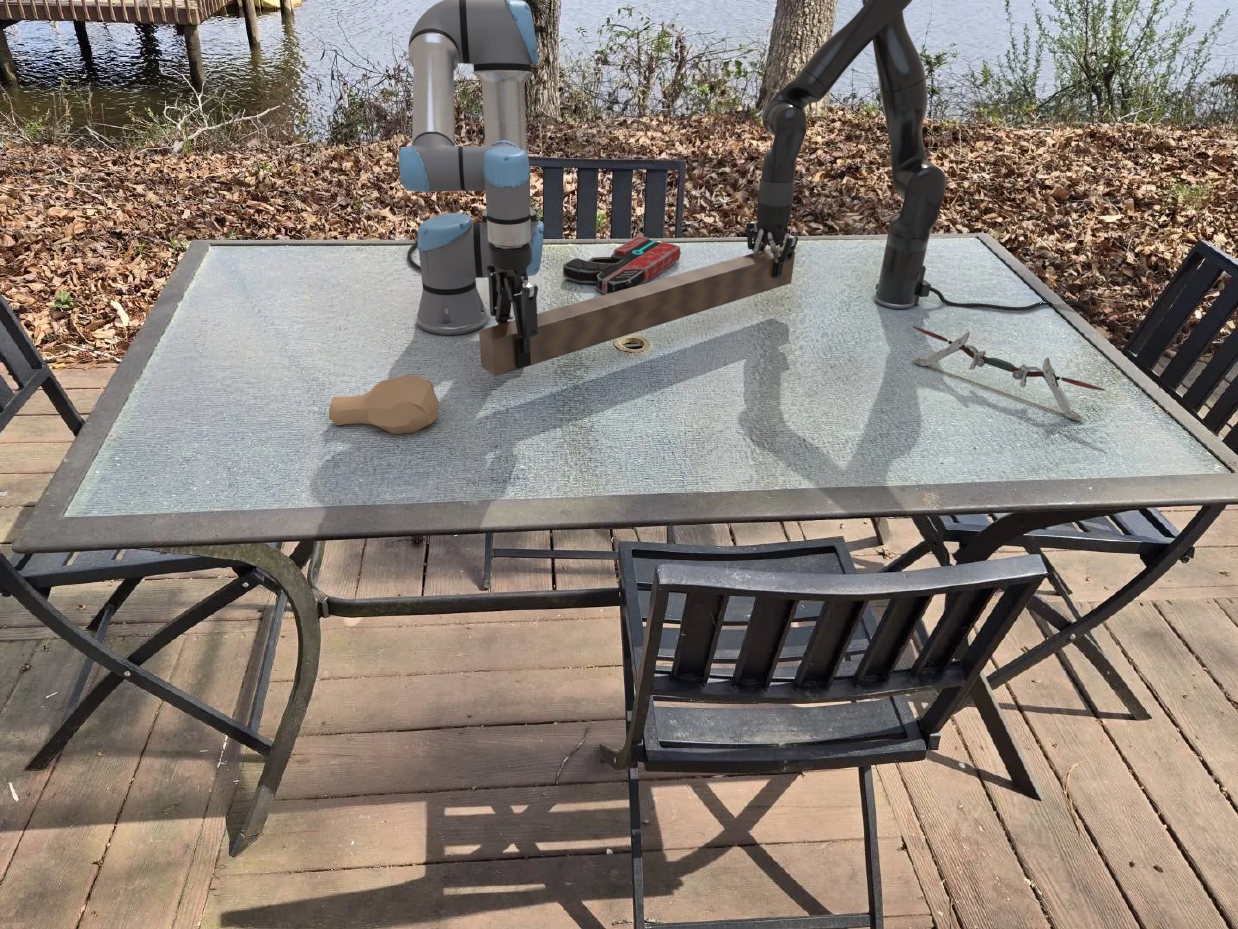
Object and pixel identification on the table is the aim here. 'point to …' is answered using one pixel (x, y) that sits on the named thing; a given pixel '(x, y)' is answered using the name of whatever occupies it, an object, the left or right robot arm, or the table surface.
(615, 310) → the post
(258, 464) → the table surface
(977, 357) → the bow
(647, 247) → the gun
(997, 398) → the table surface
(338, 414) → the squash
